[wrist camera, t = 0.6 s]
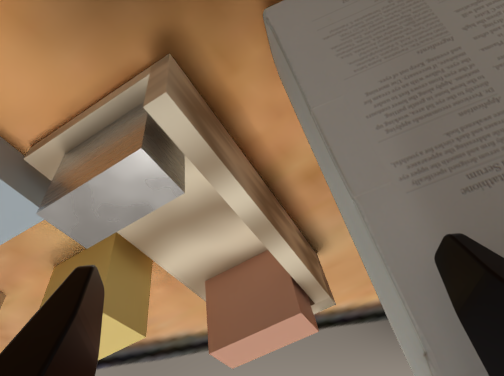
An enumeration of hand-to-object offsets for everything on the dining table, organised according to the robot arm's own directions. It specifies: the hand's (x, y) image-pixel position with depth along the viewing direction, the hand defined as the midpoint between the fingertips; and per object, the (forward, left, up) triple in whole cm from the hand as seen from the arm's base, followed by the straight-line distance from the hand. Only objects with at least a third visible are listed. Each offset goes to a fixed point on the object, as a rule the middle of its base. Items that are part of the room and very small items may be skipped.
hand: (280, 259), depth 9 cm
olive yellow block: (-8, +16, -14) cm, 22 cm away
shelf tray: (-8, +7, -14) cm, 17 cm away
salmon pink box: (-15, +7, -12) cm, 20 cm away
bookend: (0, +7, -12) cm, 14 cm away
